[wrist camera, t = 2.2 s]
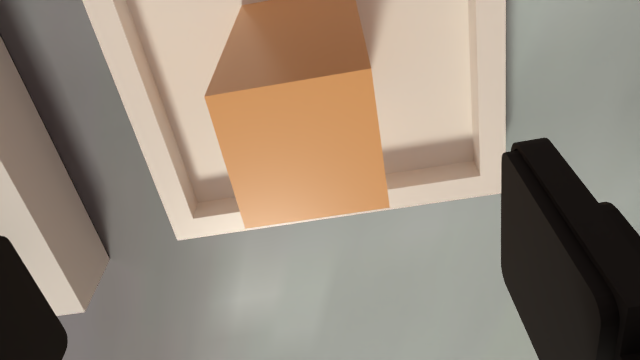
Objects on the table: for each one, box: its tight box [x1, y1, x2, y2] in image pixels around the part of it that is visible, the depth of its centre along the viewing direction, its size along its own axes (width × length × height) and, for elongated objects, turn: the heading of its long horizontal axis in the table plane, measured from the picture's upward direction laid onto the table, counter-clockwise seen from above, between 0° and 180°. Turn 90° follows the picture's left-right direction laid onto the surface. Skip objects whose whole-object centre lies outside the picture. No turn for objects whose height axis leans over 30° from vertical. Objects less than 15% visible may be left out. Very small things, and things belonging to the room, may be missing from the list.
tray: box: [82, 0, 506, 240], centre depth 21 cm, size 14×14×2 cm
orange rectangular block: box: [204, 0, 390, 229], centre depth 18 cm, size 4×4×8 cm
